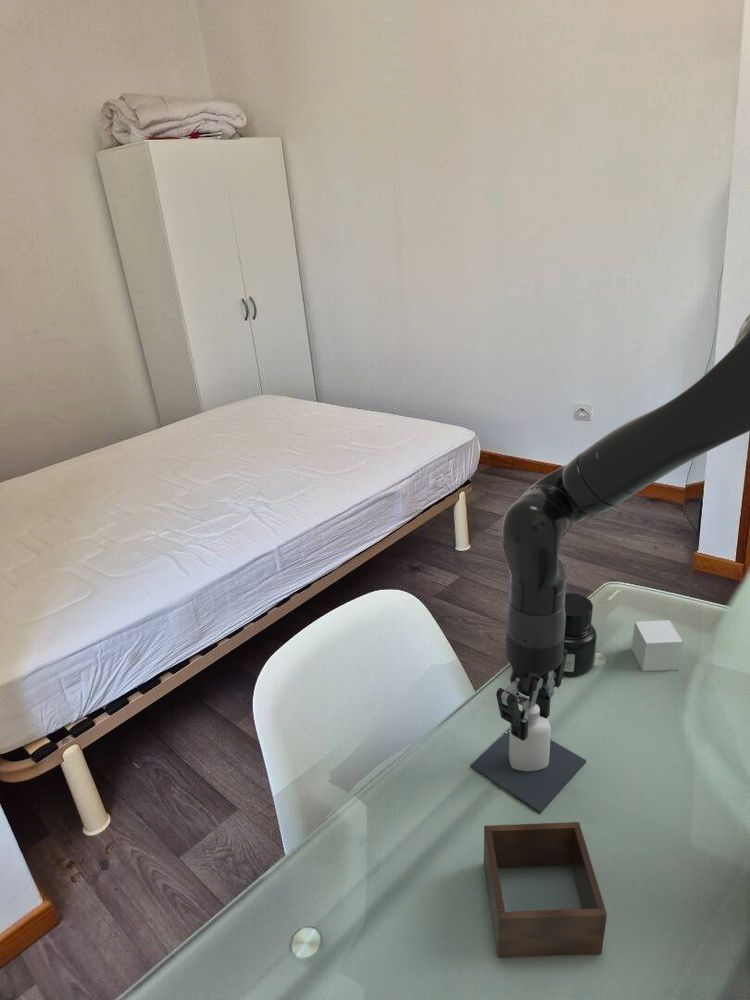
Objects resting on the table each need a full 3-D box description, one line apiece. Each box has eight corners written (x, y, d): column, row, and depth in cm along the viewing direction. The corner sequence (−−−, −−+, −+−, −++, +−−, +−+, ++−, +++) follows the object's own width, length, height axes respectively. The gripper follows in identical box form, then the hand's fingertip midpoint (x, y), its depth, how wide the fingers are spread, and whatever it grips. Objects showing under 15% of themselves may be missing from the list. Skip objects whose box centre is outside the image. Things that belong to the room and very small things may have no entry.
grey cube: (642, 671, 117) (646, 643, 115) (631, 649, 123) (634, 621, 120) (678, 669, 117) (682, 641, 114) (665, 647, 122) (669, 620, 120)
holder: (575, 859, 87) (579, 821, 84) (601, 954, 77) (607, 915, 74) (483, 862, 87) (483, 825, 84) (497, 957, 77) (498, 918, 74)
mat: (586, 762, 101) (586, 760, 101) (540, 813, 93) (540, 811, 93) (517, 722, 109) (517, 720, 108) (470, 767, 101) (470, 765, 101)
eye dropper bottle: (514, 746, 104) (516, 684, 98) (551, 758, 101) (555, 696, 96) (505, 767, 100) (506, 704, 95) (543, 780, 98) (546, 716, 93)
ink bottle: (531, 650, 124) (533, 595, 119) (574, 638, 126) (578, 583, 121) (560, 684, 116) (564, 626, 110) (605, 671, 118) (612, 613, 113)
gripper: (528, 668, 83) (524, 769, 91) (589, 614, 92) (580, 710, 99) (478, 643, 88) (478, 741, 96) (541, 594, 97) (536, 687, 104)
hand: (530, 725), depth 97 cm, fingers closed on eye dropper bottle, 5 cm apart
